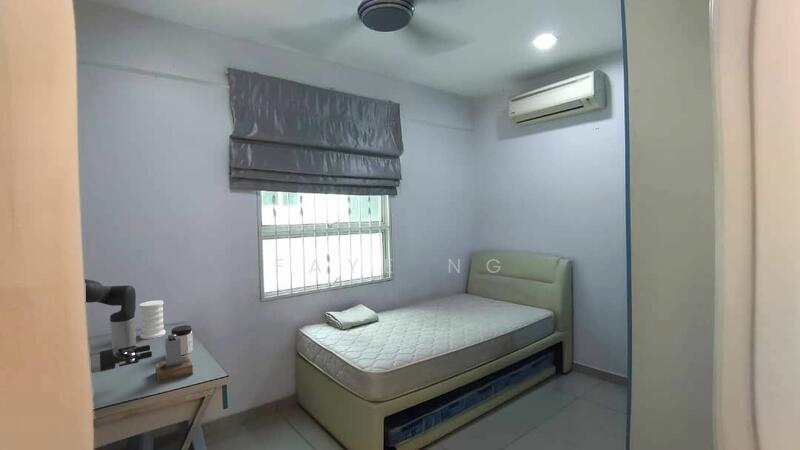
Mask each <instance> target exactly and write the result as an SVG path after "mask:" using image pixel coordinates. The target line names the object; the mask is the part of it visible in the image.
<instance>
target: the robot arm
mask: <svg viewBox="0 0 800 450" xmlns="http://www.w3.org/2000/svg"><path fill="white" fill-rule="evenodd" d="M84 279H85V283H86V302H85V303H90V304H91V303H99V304H103V305H107V306H111V307H112V306H117V307H118V306H120V310H119V311H116V312H114V313H111V314H110V316H109V323H110V325H109V327H110V339H111V348H110V349H106V350H100V351H96V352H91V353H89V354H90V358H91V372H92V374H97V373H101V372H106V371H109V370H110V371H111V370H114V369H116V365H117V364H118V367H123V366H124V367H125V366H129V365H135V364H137V363H139V361H141V360H145V359H150V358H152V356H153V352H152V351H151V346H150V344H147V345H141V346H137V337H136V335H137V334H136V319H135V318H136V317H135V315H136V303H137V301H136V299H137V298H136V297H137V295H136V290H135V287H133V286H132V285H111V286H109V285H107V286H105V285H103V284H102V283H100V282H99V281H96V280H92V279H86V278H84ZM92 374H91V375H92Z"/></svg>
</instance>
